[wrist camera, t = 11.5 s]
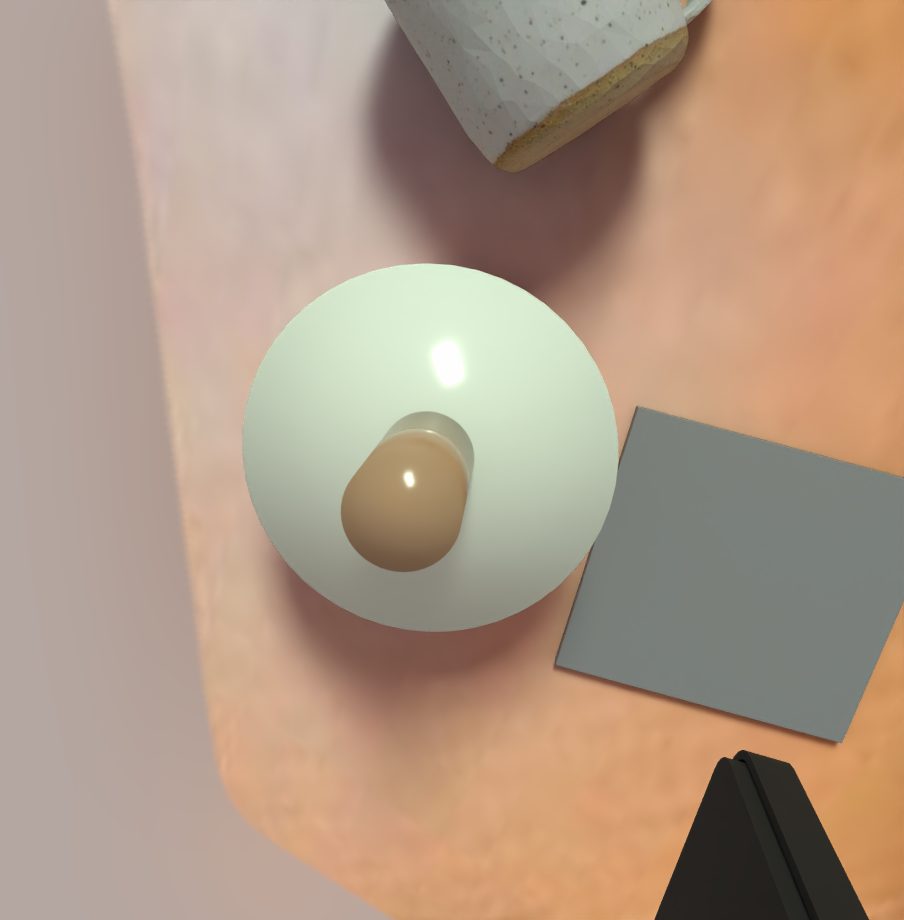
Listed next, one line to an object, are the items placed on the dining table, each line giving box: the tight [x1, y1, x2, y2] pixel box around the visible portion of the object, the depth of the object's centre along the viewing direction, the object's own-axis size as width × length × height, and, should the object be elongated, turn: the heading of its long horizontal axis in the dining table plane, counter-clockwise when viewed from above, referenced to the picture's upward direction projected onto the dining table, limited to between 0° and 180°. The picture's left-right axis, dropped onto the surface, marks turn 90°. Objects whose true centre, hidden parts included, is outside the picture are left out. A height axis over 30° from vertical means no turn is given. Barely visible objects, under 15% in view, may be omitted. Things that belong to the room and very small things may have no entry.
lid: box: [243, 263, 619, 632], centre depth 24 cm, size 12×12×8 cm
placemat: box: [555, 406, 904, 743], centre depth 32 cm, size 12×11×1 cm
